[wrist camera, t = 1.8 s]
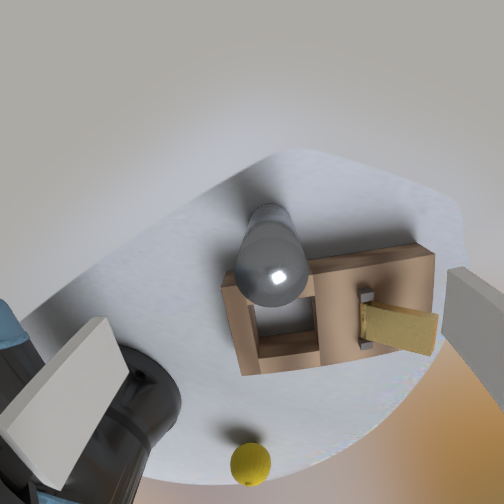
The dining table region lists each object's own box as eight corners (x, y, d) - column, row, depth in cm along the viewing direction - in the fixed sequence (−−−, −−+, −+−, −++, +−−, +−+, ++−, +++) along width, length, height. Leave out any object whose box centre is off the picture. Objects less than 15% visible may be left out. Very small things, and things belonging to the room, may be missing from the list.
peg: (253, 248, 29) (241, 311, 17) (246, 207, 28) (227, 243, 16) (294, 241, 29) (312, 301, 17) (288, 200, 28) (304, 232, 16)
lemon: (227, 434, 37) (221, 478, 30) (265, 429, 37) (263, 474, 29) (240, 454, 39) (236, 495, 31) (275, 450, 38) (275, 492, 31)
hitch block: (244, 353, 33) (240, 383, 28) (226, 271, 30) (218, 293, 25) (413, 325, 31) (432, 349, 26) (417, 242, 28) (441, 258, 23)
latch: (363, 332, 27) (358, 337, 27) (363, 299, 26) (358, 303, 26) (433, 349, 22) (429, 356, 21) (438, 314, 21) (435, 320, 20)
